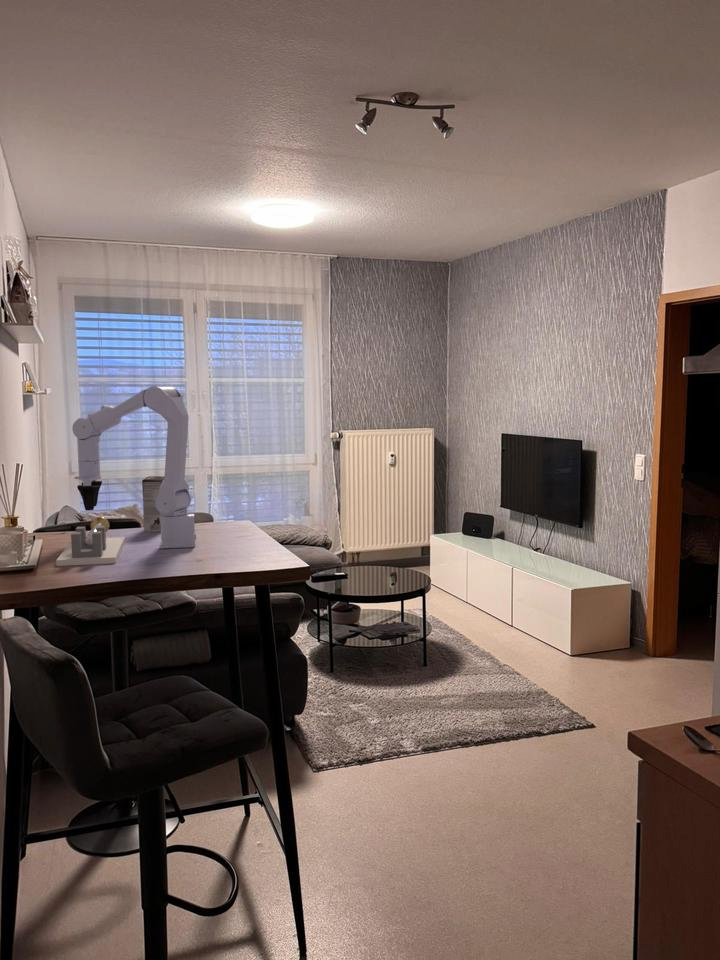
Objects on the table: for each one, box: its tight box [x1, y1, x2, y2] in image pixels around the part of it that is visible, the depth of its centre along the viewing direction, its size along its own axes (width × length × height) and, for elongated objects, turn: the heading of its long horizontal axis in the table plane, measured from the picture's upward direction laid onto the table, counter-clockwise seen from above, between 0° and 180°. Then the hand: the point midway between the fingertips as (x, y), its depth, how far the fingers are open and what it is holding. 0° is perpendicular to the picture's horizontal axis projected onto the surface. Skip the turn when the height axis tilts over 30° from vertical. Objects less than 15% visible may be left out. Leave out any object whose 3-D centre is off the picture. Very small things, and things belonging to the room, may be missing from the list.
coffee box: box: [141, 475, 164, 533], centre depth 240 cm, size 9×6×16 cm
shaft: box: [85, 516, 110, 545], centre depth 211 cm, size 5×23×5 cm, turn 12°
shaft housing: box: [55, 526, 126, 567], centre depth 205 cm, size 14×27×8 cm, turn 12°
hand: (91, 508), depth 221 cm, fingers open, 7 cm apart
